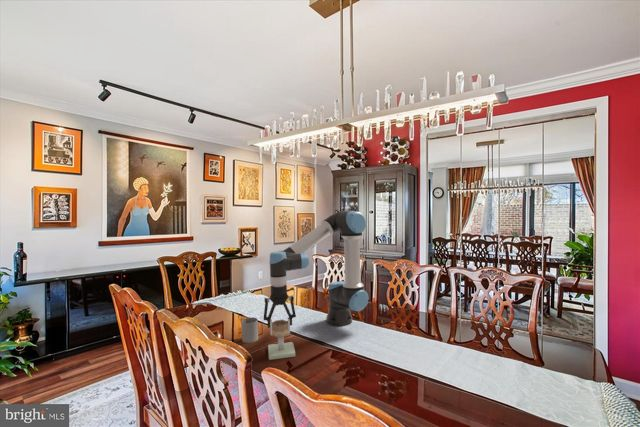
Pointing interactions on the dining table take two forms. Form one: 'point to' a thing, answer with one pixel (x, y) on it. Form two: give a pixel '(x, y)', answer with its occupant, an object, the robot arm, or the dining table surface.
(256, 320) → the cup
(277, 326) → the ring
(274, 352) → the post stand
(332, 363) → the dining table surface
